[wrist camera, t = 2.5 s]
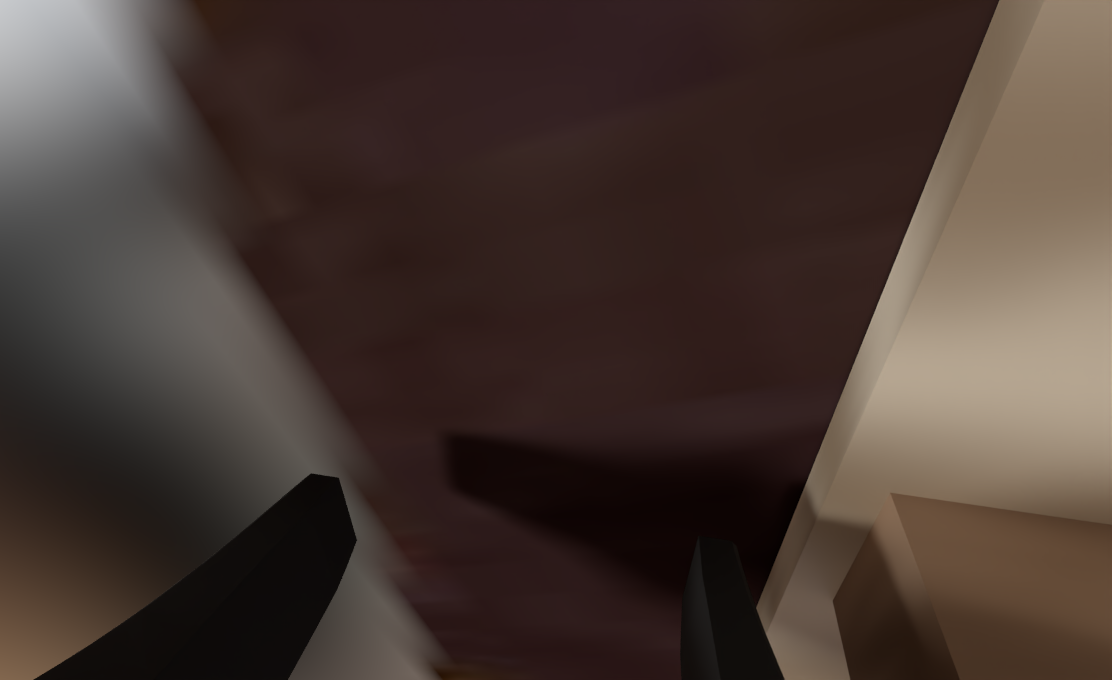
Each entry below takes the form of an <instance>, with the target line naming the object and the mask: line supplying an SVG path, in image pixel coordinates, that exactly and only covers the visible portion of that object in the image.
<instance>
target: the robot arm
mask: <svg viewBox="0 0 1112 680" xmlns="http://www.w3.org/2000/svg"><path fill="white" fill-rule="evenodd" d="M356 541H357V539H356V536H355V532H354V529H353V525H352V522H351V518H350V515H349V511H348V508H347V505H346V501H345V498H344V494H343V491H342V487H341V484H340V480H339V478H337V477H330V476H324V475H318V474H310V475H309V476H307V477H306V478H305V479H304V480H302V481H301V482H300V483H299V484H298V485H296V486H295V487H294V488H293V489H292V490H290V491H289V492H288V493H287V494H286V495H284V496H283V497H282V498H281V499H280V500H279V501H278V502H276V503H275V504H274V505H273V506H272V507H270V508H269V509H268V510H267V511H266V512H264V513H263V514H262V515H261V516H260V517H259V518H257V519H256V520H255V521H254V522H253V523H251V524H250V525H249V526H248V527H247V528H246V529H244V530H243V531H242V532H241V533H239V534H238V535H237V536H236V537H235V538H233V539H232V540H231V541H230V542H228V543H227V544H226V545H225V546H223V547H222V548H221V549H220V550H219V551H217V552H216V553H215V554H214V555H212V556H211V557H210V558H209V559H207V560H206V561H205V562H204V563H203V564H201V565H200V566H199V567H197V568H196V569H195V570H194V571H192V572H191V573H190V574H188V575H187V576H185V577H184V578H183V579H182V580H180V581H179V582H178V583H176V584H175V585H174V586H172V587H171V588H170V589H168V590H167V591H166V592H164V593H163V594H162V595H161V596H159V597H158V598H157V599H155V600H154V601H152V602H151V603H150V604H148V605H147V606H146V607H144V608H143V609H141V610H140V611H139V612H137V613H136V614H134V615H133V616H131V617H130V618H129V619H127V620H126V621H125V622H123V623H121V624H120V625H119V626H117V627H116V628H114V629H113V630H111V631H110V632H108V633H107V634H105V635H104V636H102V637H101V638H99V639H98V640H96V641H95V642H93V643H92V644H90V645H89V646H87V647H86V648H84V649H83V650H81V651H79V652H78V653H76V654H75V655H73V656H72V657H70V658H68V659H67V660H65V661H64V662H62V663H61V664H59V665H57V666H55V667H54V668H52V669H50V670H49V671H47V672H46V673H44V674H42V675H41V676H39V677H37V678H36V679H34V680H288V678H289V677H290V675H291V673H292V671H293V669H294V668H295V666H296V664H297V662H298V660H299V659H300V657H301V655H302V653H303V651H304V649H305V647H306V646H307V644H308V642H309V640H310V639H311V637H312V635H313V633H314V631H315V629H316V628H317V626H318V624H319V622H320V620H321V618H322V617H323V614H324V613H325V611H326V609H327V607H328V605H329V603H330V602H331V600H332V598H333V596H334V594H335V592H336V590H337V588H338V586H339V584H340V581H341V579H342V576H343V574H344V572H345V569H346V567H347V564H348V562H349V559H350V557H351V554H352V552H353V549H354V546H355V544H356ZM680 657H681V676H682V680H785V679H784V676H783V674H782V671H781V669H780V667H779V664H778V662H777V659H776V657H775V655H774V652H773V650H772V647H771V645H770V643H769V640H768V638H767V635H766V633H765V630H764V628H763V625H762V622H761V620H760V617H759V614H758V611H757V609H756V606H755V603H754V600H753V598H752V595H751V592H750V589H749V586H748V583H747V580H746V577H745V574H744V570H743V567H742V564H741V560H740V557H739V553H738V549H737V546H736V545H735V544H734V543H733V542H732V541H728V540H722V539H716V538H709V537H703V536H698V539H697V543H696V547H695V551H694V555H693V559H692V563H691V567H690V570H689V574H688V578H687V582H686V586H685V590H684V594H683V598H682V621H681V650H680Z"/></svg>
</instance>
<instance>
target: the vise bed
mask: <svg viewBox="0 0 1112 680" xmlns="http://www.w3.org/2000/svg"><path fill="white" fill-rule="evenodd" d="M890 493H896V494H903V495H910V496H916V497H923V498H930V499H937V500H944V501H951V502H958V503H965V504H971V505H978V506H985V507H992V508H999V509H1006V510H1013V511H1020V512H1027V513H1033V514H1040V515H1047V516H1054V517H1061V518H1068V519H1075V520H1082V521H1088V522H1095V523H1102V524H1109V525H1112V0H1000V1H999V3H998V6H997V8H996V11H995V13H994V16H993V18H992V21H991V23H990V26H989V28H988V31H987V33H986V36H985V38H984V41H983V43H982V46H981V48H980V51H979V53H978V56H977V58H976V61H975V63H974V66H973V68H972V71H971V73H970V76H969V78H968V81H967V83H966V86H965V88H964V91H963V93H962V96H961V98H960V101H959V103H958V106H957V108H956V111H955V113H954V115H953V118H952V120H951V123H950V125H949V128H948V130H947V133H946V135H945V138H944V140H943V143H942V145H941V148H940V150H939V153H938V155H937V158H936V160H935V163H934V165H933V168H932V170H931V173H930V175H929V178H928V180H927V183H926V185H925V188H924V190H923V193H922V195H921V198H920V200H919V203H918V205H917V208H916V210H915V213H914V215H913V218H912V220H911V223H910V225H909V228H908V230H907V233H906V235H905V238H904V240H903V243H902V245H901V248H900V250H899V253H898V255H897V258H896V260H895V263H894V265H893V268H892V270H891V273H890V275H889V278H888V280H887V283H886V285H885V288H884V290H883V293H882V295H881V298H880V300H879V303H878V305H877V308H876V310H875V313H874V315H873V318H872V320H871V323H870V325H869V328H868V330H867V333H866V335H865V338H864V340H863V343H862V345H861V348H860V350H859V353H858V355H857V358H856V360H855V363H854V365H853V368H852V370H851V373H850V375H849V378H848V380H847V383H846V385H845V388H844V390H843V393H842V395H841V398H840V400H839V403H838V405H837V408H836V410H835V413H834V415H833V418H832V420H831V423H830V425H829V428H828V430H827V433H826V435H825V438H824V440H823V443H822V445H821V448H820V450H819V453H818V455H817V458H816V460H815V463H814V465H813V467H812V470H811V472H810V475H809V477H808V480H807V482H806V485H805V487H804V490H803V492H802V495H801V497H800V500H799V502H798V505H797V507H796V510H795V512H794V515H793V517H792V520H791V522H790V525H789V527H788V530H787V532H786V535H785V537H784V540H783V542H782V545H781V547H780V550H779V552H778V555H777V557H776V560H775V562H774V565H773V567H772V570H771V572H770V575H769V577H768V580H767V582H766V585H765V587H764V590H763V592H762V595H761V597H760V600H759V602H758V605H757V607H756V609H757V611H758V614H759V617H760V620H761V622H762V625H763V628H764V630H765V633H766V635H767V638H768V640H769V643H770V645H771V647H772V650H773V652H774V655H775V657H776V659H777V662H778V664H779V667H780V669H781V671H782V674H783V676H784V679H785V680H850V676H849V672H848V667H847V663H846V658H845V654H844V649H843V645H842V641H841V636H840V632H839V627H838V623H837V618H836V614H835V610H834V605H833V599H834V597H835V595H836V594H837V592H838V590H839V588H840V586H841V584H842V582H843V580H844V578H845V577H846V575H847V573H848V571H849V569H850V567H851V565H852V563H853V562H854V560H855V558H856V556H857V554H858V552H859V550H860V548H861V547H862V545H863V543H864V541H865V539H866V537H867V535H868V533H869V531H870V530H871V528H872V526H873V524H874V522H875V520H876V518H877V516H878V515H879V513H880V511H881V509H882V507H883V505H884V503H885V501H886V500H887V498H888V496H889V494H890Z"/></svg>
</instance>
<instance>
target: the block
mask: <svg viewBox="0 0 1112 680" xmlns="http://www.w3.org/2000/svg"><path fill="white" fill-rule="evenodd" d="M833 605H834V610H835V614H836V618H837V623H838V627H839V632H840V636H841V641H842V645H843V649H844V654H845V658H846V663H847V667H848V672H849V676H850V680H1112V525H1109V524H1102V523H1095V522H1088V521H1082V520H1075V519H1068V518H1061V517H1054V516H1047V515H1040V514H1033V513H1027V512H1020V511H1013V510H1006V509H999V508H992V507H985V506H978V505H971V504H965V503H958V502H951V501H944V500H937V499H930V498H923V497H916V496H910V495H903V494H896V493H890V494H889V496H888V498H887V500H886V501H885V503H884V505H883V507H882V509H881V511H880V513H879V515H878V516H877V518H876V520H875V522H874V524H873V526H872V528H871V530H870V531H869V533H868V535H867V537H866V539H865V541H864V543H863V545H862V547H861V548H860V550H859V552H858V554H857V556H856V558H855V560H854V562H853V563H852V565H851V567H850V569H849V571H848V573H847V575H846V577H845V578H844V580H843V582H842V584H841V586H840V588H839V590H838V592H837V594H836V595H835V597H834V599H833Z"/></svg>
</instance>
